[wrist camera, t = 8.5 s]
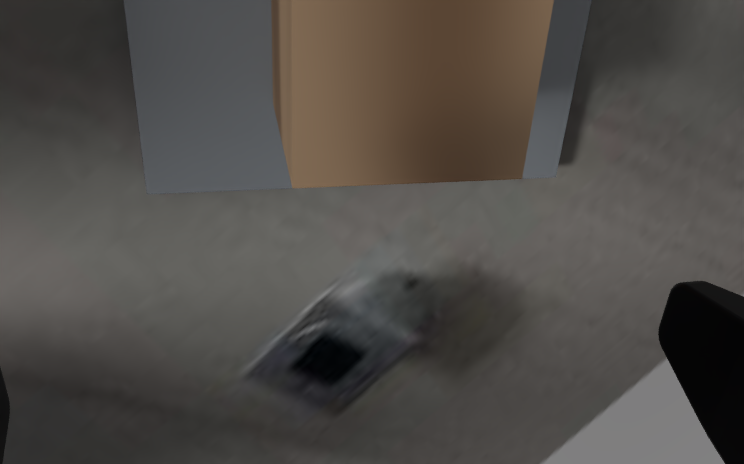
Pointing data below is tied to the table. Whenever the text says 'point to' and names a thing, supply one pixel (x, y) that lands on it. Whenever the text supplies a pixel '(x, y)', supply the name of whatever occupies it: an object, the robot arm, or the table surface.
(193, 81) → the slate coaster
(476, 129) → the walnut cube
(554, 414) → the table surface
